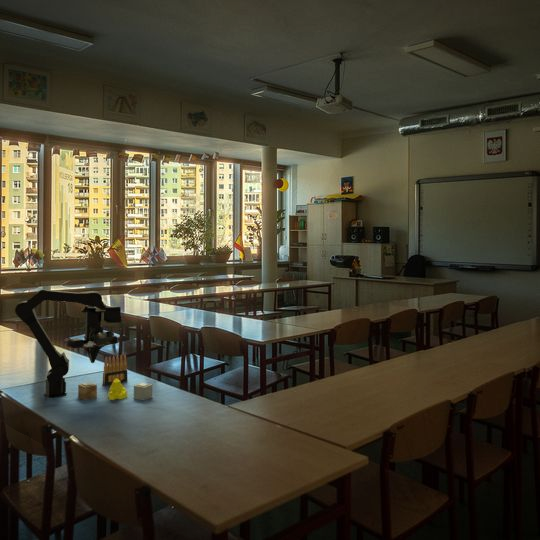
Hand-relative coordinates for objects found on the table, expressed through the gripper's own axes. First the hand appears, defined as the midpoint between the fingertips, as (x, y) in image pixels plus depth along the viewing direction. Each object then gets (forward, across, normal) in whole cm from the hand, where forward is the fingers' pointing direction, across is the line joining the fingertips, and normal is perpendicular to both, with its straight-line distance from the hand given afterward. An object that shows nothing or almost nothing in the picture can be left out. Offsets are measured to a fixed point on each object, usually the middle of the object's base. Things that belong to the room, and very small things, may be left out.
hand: (92, 362), depth 207 cm
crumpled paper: (+12, +5, -12) cm, 17 cm away
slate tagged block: (+12, +12, -18) cm, 25 cm away
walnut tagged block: (+12, -4, -5) cm, 14 cm away
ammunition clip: (+12, +14, +7) cm, 20 cm away
